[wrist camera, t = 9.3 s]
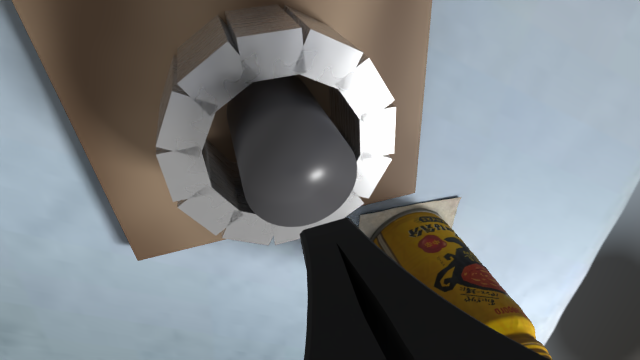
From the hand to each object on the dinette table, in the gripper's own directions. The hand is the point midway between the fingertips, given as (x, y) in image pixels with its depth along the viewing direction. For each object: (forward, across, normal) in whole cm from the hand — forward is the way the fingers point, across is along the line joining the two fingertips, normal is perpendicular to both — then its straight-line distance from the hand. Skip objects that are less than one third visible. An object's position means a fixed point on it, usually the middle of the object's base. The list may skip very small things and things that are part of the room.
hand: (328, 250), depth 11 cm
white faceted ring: (+10, 0, 0) cm, 10 cm away
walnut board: (+10, 0, 0) cm, 10 cm away
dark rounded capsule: (+9, 0, 0) cm, 9 cm away
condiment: (+11, -7, +13) cm, 19 cm away
